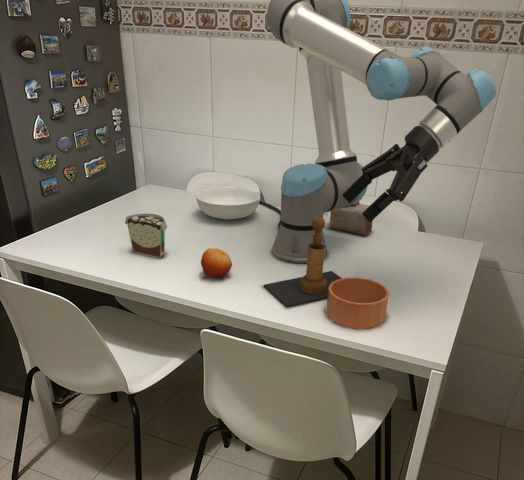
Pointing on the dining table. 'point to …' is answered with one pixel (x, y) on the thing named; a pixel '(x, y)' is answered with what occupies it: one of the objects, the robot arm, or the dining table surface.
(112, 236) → the dining table surface
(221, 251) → the fruit
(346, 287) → the copper pot
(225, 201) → the serving bowl
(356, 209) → the food item
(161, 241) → the food container
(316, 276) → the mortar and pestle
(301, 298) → the rubber mat
